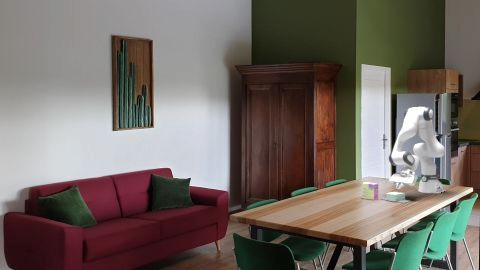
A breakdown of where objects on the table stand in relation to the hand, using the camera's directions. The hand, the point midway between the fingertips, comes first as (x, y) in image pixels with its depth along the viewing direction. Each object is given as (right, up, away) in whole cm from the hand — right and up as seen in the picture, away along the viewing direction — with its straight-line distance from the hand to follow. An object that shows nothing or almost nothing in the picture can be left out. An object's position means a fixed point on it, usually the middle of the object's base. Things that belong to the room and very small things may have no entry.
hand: (397, 188), depth 381 cm
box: (-19, -9, +7) cm, 22 cm away
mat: (-2, -9, -1) cm, 9 cm away
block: (+3, -5, +2) cm, 6 cm away
